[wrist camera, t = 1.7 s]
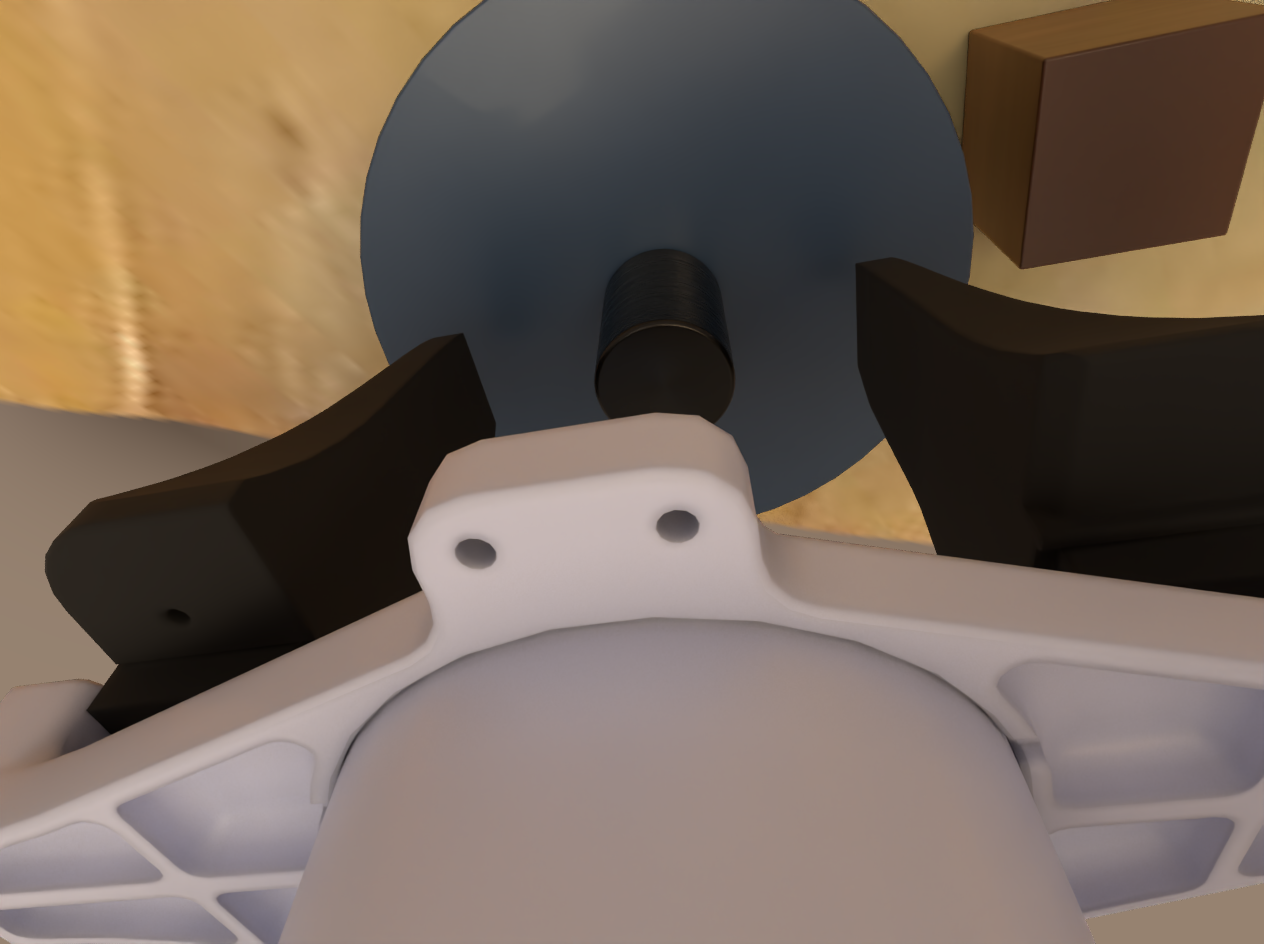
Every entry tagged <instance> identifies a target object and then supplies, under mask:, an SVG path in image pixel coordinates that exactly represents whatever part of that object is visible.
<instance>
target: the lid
mask: <svg viewBox="0 0 1264 944" xmlns="http://www.w3.org/2000/svg"><path fill="white" fill-rule="evenodd" d="M973 238H974V232H973V209H972V193H971V188H970V183H969V178H968V173H967V167H966V162H965V157H964V153H963V150H962V147H961V144H960V142H959V139H958V136H957V133H956V130H955V127H954V125H953V122H952V119H951V116H950V113H949V112H948V110H947V108H946V106H945V104H944V102H943V100H942V99H941V97H940V95H939V93H938V91H937V89H936V87H935V86H934V84H933V82H932V80H931V78H930V76H929V75H928V73H927V72H926V71H925V69H924V68H923V67H922V65H921V64H920V63H919V61H918V60H917V59H916V57H915V56H914V55H913V54H912V52H911V51H910V50H909V48H908V47H907V46H906V44H905V43H904V42H903V40H902V39H901V38H900V37H899V36H898V35H897V34H896V33H895V32H894V31H893V30H892V29H891V28H890V27H889V26H887V25H886V24H885V23H884V22H883V21H882V20H881V19H880V18H879V17H878V16H877V15H876V14H875V13H874V12H873V11H872V10H871V9H870V8H868V7H867V6H866V5H865V4H864V3H862V2H861V1H859V0H483V1H482V2H480V3H479V4H478V5H477V6H476V7H474V8H473V9H472V10H471V11H469V12H468V13H467V14H466V15H464V16H463V17H462V18H461V19H459V20H458V21H457V22H456V23H455V24H453V25H452V26H451V28H450V29H449V30H448V31H447V32H446V33H445V34H444V35H443V36H442V38H441V39H440V40H439V41H438V42H437V43H436V44H435V45H434V46H433V47H432V49H431V50H430V51H429V52H428V53H427V54H426V55H425V56H424V57H423V58H422V60H421V61H420V63H419V64H418V66H417V67H416V69H415V70H414V72H413V73H412V75H411V76H410V78H409V79H408V81H407V82H406V84H405V85H404V87H403V88H402V90H401V91H400V93H399V95H398V96H397V98H396V100H395V102H394V104H393V106H392V109H391V111H390V113H389V115H388V117H387V119H386V121H385V124H384V126H383V128H382V130H381V132H380V134H379V136H378V140H377V143H376V147H375V150H374V153H373V157H372V160H371V163H370V167H369V170H368V173H367V177H366V183H365V190H364V197H363V204H362V211H361V230H360V258H361V265H362V273H363V280H364V288H365V295H366V299H367V302H368V306H369V310H370V313H371V317H372V321H373V324H374V328H375V331H376V334H377V336H378V339H379V341H380V343H381V346H382V348H383V351H384V353H385V356H386V358H387V360H388V363H389V365H391V364H392V363H394V362H395V361H396V360H398V359H399V358H401V357H402V356H403V355H405V354H406V353H408V352H409V351H411V350H412V349H414V348H415V347H417V346H418V345H420V344H422V343H423V342H425V341H427V340H430V339H432V338H436V337H442V336H447V335H453V334H458V333H464V336H465V339H466V341H467V344H468V347H469V350H470V352H471V355H472V358H473V361H474V363H475V366H476V369H477V372H478V374H479V377H480V380H481V383H482V385H483V388H484V391H485V394H486V397H487V399H488V402H489V405H490V408H491V410H492V413H493V416H494V419H495V421H496V431H495V438H496V437H503V436H509V435H515V434H522V433H528V432H534V431H541V430H547V429H554V428H560V427H566V426H573V425H579V424H586V423H592V422H598V421H605V420H611V419H618V418H624V417H630V416H637V415H643V414H650V413H669V414H684V415H699V416H700V417H702V418H704V419H705V420H707V421H709V422H710V423H712V424H714V425H715V426H717V427H719V428H720V429H722V430H724V431H725V432H727V433H729V434H730V435H732V436H733V438H734V440H735V442H736V444H737V446H738V448H739V450H740V452H741V454H742V456H743V458H744V460H745V462H746V464H747V466H748V471H749V477H750V483H751V488H752V494H753V500H754V506H755V511H756V514H759V513H762V512H765V511H769V510H772V509H775V508H777V507H780V506H782V505H784V504H786V503H789V502H791V501H793V500H795V499H798V498H800V497H802V496H804V495H806V494H808V493H810V492H812V491H813V490H815V489H817V488H819V487H820V486H822V485H824V484H826V483H827V482H829V481H831V480H833V479H834V478H836V477H837V476H839V475H840V474H841V473H843V472H844V471H845V470H847V469H848V468H850V467H851V466H852V465H854V464H855V463H857V462H858V461H859V460H861V459H862V458H863V457H864V456H865V455H866V454H868V453H869V452H870V451H871V450H872V449H873V448H874V447H875V446H876V445H878V444H879V443H880V442H881V441H882V440H883V439H884V438H885V435H884V433H883V431H882V429H881V427H880V425H879V423H878V421H877V419H876V417H875V415H874V413H873V411H872V409H871V407H870V404H869V401H868V398H867V395H866V392H865V389H864V386H863V383H862V379H861V376H860V373H859V369H858V365H857V318H856V270H855V263H860V262H866V261H872V260H877V259H883V258H889V257H894V258H899V259H902V260H905V261H908V262H911V263H914V264H916V265H919V266H922V267H924V268H927V269H929V270H932V271H934V272H937V273H939V274H942V275H944V276H947V277H950V278H952V279H955V280H957V281H960V282H963V283H966V284H968V281H969V277H970V269H971V258H972V248H973Z"/></svg>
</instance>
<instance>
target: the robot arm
mask: <svg viewBox="0 0 1264 944" xmlns="http://www.w3.org/2000/svg"><path fill="white" fill-rule="evenodd" d="M855 270H856V318H857V365H858V369H859V373H860V376H861V379H862V383H863V386H864V389H865V392H866V395H867V398H868V401H869V404H870V407H871V409H872V411H873V413H874V415H875V417H876V419H877V421H878V423H879V425H880V427H881V429H882V431H883V433H884V435H885V437H886V439H887V441H888V443H889V445H890V447H891V449H892V451H893V453H894V455H895V457H896V459H897V461H898V463H899V465H900V467H901V468H902V470H903V472H904V474H905V476H906V478H907V480H908V482H909V484H910V486H911V488H912V490H913V492H914V494H915V497H916V499H917V501H918V503H919V506H920V508H921V510H922V513H923V516H924V519H925V522H926V525H927V527H928V530H929V533H930V536H931V539H932V542H933V544H934V547H935V550H936V553H937V555H933V554H927V553H919V552H912V551H903V550H897V549H889V548H882V547H874V546H866V545H859V544H851V543H843V542H836V541H829V540H821V539H813V538H806V537H799V536H791V535H784V534H778V533H775V532H774V531H772V530H770V529H769V528H767V527H766V526H764V525H763V524H762V523H761V521H760V520H759V518H758V517H757V515H756V511H755V506H754V500H753V494H752V488H751V483H750V477H749V471H748V466H747V464H746V462H745V460H744V458H743V456H742V454H741V452H740V450H739V448H738V446H737V444H736V442H735V440H734V438H733V436H732V435H730V434H729V433H727V432H725V431H724V430H722V429H720V428H719V427H717V426H715V425H714V424H712V423H710V422H709V421H707V420H705V419H704V418H702V417H700V416H699V415H684V414H669V413H650V414H643V415H637V416H630V417H624V418H618V419H611V420H605V421H598V422H592V423H586V424H579V425H573V426H566V427H560V428H554V429H547V430H541V431H534V432H528V433H522V434H515V435H509V436H503V437H496V438H495V431H496V421H495V419H494V416H493V413H492V410H491V408H490V405H489V402H488V399H487V397H486V394H485V391H484V388H483V385H482V383H481V380H480V377H479V374H478V372H477V369H476V366H475V363H474V361H473V358H472V355H471V352H470V350H469V347H468V344H467V341H466V339H465V336H464V333H458V334H453V335H447V336H442V337H436V338H432V339H430V340H427V341H425V342H423V343H422V344H420V345H418V346H417V347H415V348H414V349H412V350H411V351H409V352H408V353H406V354H405V355H403V356H402V357H401V358H399V359H398V360H396V361H395V362H394V363H392V364H391V365H389V366H388V367H387V368H385V369H384V370H383V371H381V372H380V373H378V374H377V375H376V376H374V377H373V378H372V379H370V380H369V381H367V382H366V383H365V384H363V385H362V386H360V387H359V388H357V389H356V390H354V391H353V392H351V393H350V394H348V395H347V396H345V397H344V398H342V399H341V400H340V401H338V402H337V403H335V404H334V405H332V406H331V407H329V408H328V409H326V410H324V411H323V412H321V413H319V414H318V415H316V416H314V417H313V418H311V419H309V420H307V421H306V422H304V423H302V424H300V425H298V426H296V427H295V428H293V429H291V430H289V431H287V432H285V433H283V434H281V435H279V436H277V437H275V438H273V439H271V440H269V441H267V442H264V443H262V444H260V445H258V446H255V447H253V448H251V449H249V450H247V451H244V452H242V453H240V454H238V455H236V456H233V457H231V458H228V459H226V460H223V461H221V462H218V463H215V464H213V465H210V466H208V467H205V468H202V469H199V470H196V471H194V472H190V473H187V474H184V475H182V476H179V477H176V478H173V479H170V480H166V481H163V482H160V483H156V484H152V485H149V486H145V487H142V488H138V489H134V490H131V491H127V492H123V493H120V494H116V495H113V496H109V497H105V498H100V499H96V500H94V501H92V502H90V503H89V504H88V505H87V506H86V507H85V508H84V509H83V510H82V511H81V513H79V515H78V516H77V517H76V518H75V519H74V520H73V521H72V522H71V523H70V524H69V525H68V526H67V527H66V528H65V529H64V530H63V531H62V532H61V533H60V534H59V536H58V537H57V538H56V539H55V540H54V541H53V543H52V545H51V546H50V548H49V550H48V552H47V553H46V556H45V559H46V560H45V573H46V576H47V579H48V581H49V584H50V587H51V589H52V591H53V593H54V595H55V596H56V598H57V599H58V600H59V602H60V603H61V604H62V606H63V607H64V608H65V610H66V611H67V612H68V613H69V614H70V615H71V616H72V617H73V618H74V620H75V621H76V622H77V623H78V624H79V625H80V626H81V627H82V628H83V629H84V630H85V631H86V632H87V634H89V636H90V637H91V638H92V639H93V640H94V641H95V642H96V643H97V644H98V645H99V646H100V647H101V648H102V649H103V651H104V652H105V653H106V654H107V655H108V656H109V657H110V658H111V659H112V660H113V661H114V662H115V664H119V665H118V666H117V668H116V670H115V671H114V672H113V674H112V675H111V676H110V678H109V679H108V680H107V682H106V683H105V685H104V686H103V685H102V684H99V683H96V682H94V681H91V680H84V679H73V680H65V681H57V682H49V683H40V684H33V685H24V686H17V687H13V688H12V689H11V690H10V691H9V692H8V693H7V695H6V696H5V697H4V698H3V699H2V701H1V702H0V937H2V938H3V939H5V940H6V941H8V942H10V943H11V944H1096V943H1095V941H1094V939H1093V936H1092V934H1091V932H1090V929H1089V927H1088V925H1087V922H1086V920H1085V919H1089V918H1093V917H1098V916H1104V915H1109V914H1113V913H1118V912H1123V911H1128V910H1133V909H1138V908H1143V907H1148V906H1153V905H1158V904H1163V903H1168V902H1173V901H1178V900H1183V899H1188V898H1193V897H1198V896H1203V895H1208V894H1213V893H1218V892H1223V891H1227V890H1232V889H1237V888H1242V887H1247V886H1252V885H1257V884H1262V883H1264V315H1257V316H1235V317H1214V318H1153V317H1132V316H1117V315H1108V314H1098V313H1089V312H1080V311H1073V310H1066V309H1060V308H1055V307H1050V306H1045V305H1040V304H1035V303H1030V302H1025V301H1021V300H1017V299H1013V298H1010V297H1006V296H1003V295H1000V294H996V293H993V292H990V291H986V290H983V289H980V288H977V287H974V286H971V285H968V284H966V283H963V282H960V281H957V280H955V279H952V278H950V277H947V276H944V275H942V274H939V273H937V272H934V271H932V270H929V269H927V268H924V267H922V266H919V265H916V264H914V263H911V262H908V261H905V260H902V259H899V258H894V257H889V258H883V259H877V260H872V261H866V262H860V263H855Z"/></svg>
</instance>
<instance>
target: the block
mask: <svg viewBox="0 0 1264 944" xmlns="http://www.w3.org/2000/svg"><path fill="white" fill-rule="evenodd" d="M1263 101H1264V5H1258V4H1252V3H1245V2H1239V1H1232V0H1111V1H1106V2H1102V3H1097V4H1092V5H1087V6H1083V7H1078V8H1073V9H1069V10H1064V11H1059V12H1054V13H1050V14H1045V15H1040V16H1036V17H1031V18H1026V19H1021V20H1017V21H1012V22H1007V23H1003V24H998V25H993V26H988V27H984V28H979V29H974V30H972V31H970V33H969V47H968V63H967V80H966V96H965V113H964V129H963V145H962V150H963V153H964V157H965V162H966V167H967V173H968V178H969V183H970V188H971V193H972V209H973V224H974V225H975V226H976V227H977V228H978V229H979V230H980V231H981V232H982V233H983V234H985V235H986V236H987V237H988V238H989V239H990V240H991V241H992V242H993V243H994V244H995V245H996V246H997V247H998V248H999V249H1000V250H1001V251H1002V252H1003V253H1004V254H1005V255H1006V256H1007V257H1008V258H1009V259H1010V260H1011V261H1012V262H1013V263H1014V264H1015V265H1016V266H1017V267H1018V268H1019V269H1028V268H1034V267H1039V266H1045V265H1051V264H1057V263H1063V262H1069V261H1075V260H1081V259H1087V258H1092V257H1098V256H1104V255H1110V254H1116V253H1122V252H1128V251H1134V250H1140V249H1145V248H1151V247H1157V246H1163V245H1169V244H1175V243H1181V242H1187V241H1193V240H1198V239H1204V238H1210V237H1216V236H1222V235H1225V234H1226V233H1227V231H1228V228H1229V224H1230V220H1231V217H1232V213H1233V210H1234V206H1235V202H1236V199H1237V195H1238V191H1239V188H1240V184H1241V181H1242V177H1243V173H1244V170H1245V166H1246V163H1247V159H1248V155H1249V152H1250V148H1251V144H1252V141H1253V137H1254V134H1255V130H1256V126H1257V123H1258V119H1259V116H1260V112H1261V108H1262V105H1263Z"/></svg>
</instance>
